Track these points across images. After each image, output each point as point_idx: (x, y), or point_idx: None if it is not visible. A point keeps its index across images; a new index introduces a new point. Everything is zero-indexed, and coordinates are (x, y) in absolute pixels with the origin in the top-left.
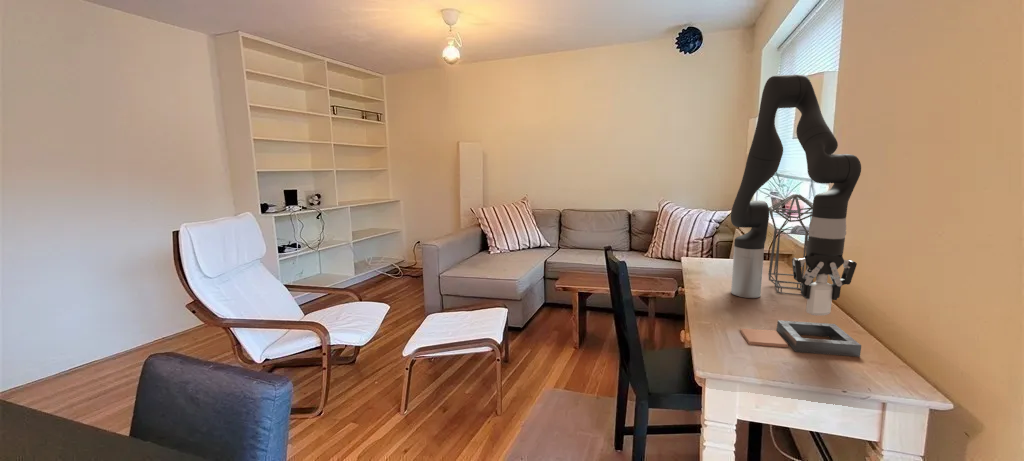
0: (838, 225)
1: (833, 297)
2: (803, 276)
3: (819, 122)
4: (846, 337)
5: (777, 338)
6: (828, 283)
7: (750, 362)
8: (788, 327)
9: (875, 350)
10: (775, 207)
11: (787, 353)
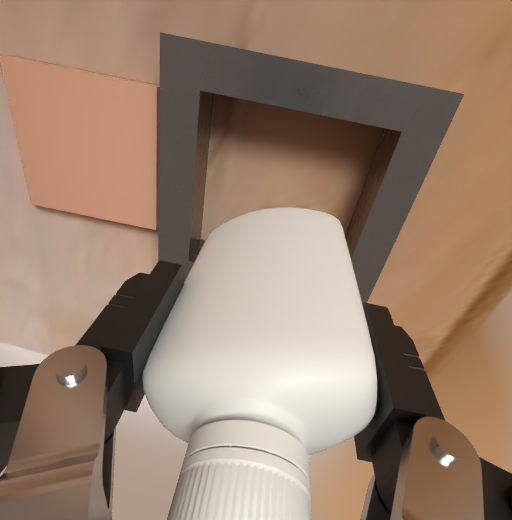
0: None
1: None
2: (22, 426)
3: None
4: (364, 262)
5: (137, 178)
6: (323, 447)
7: (37, 305)
8: (178, 152)
9: (455, 254)
10: None
11: (145, 264)
